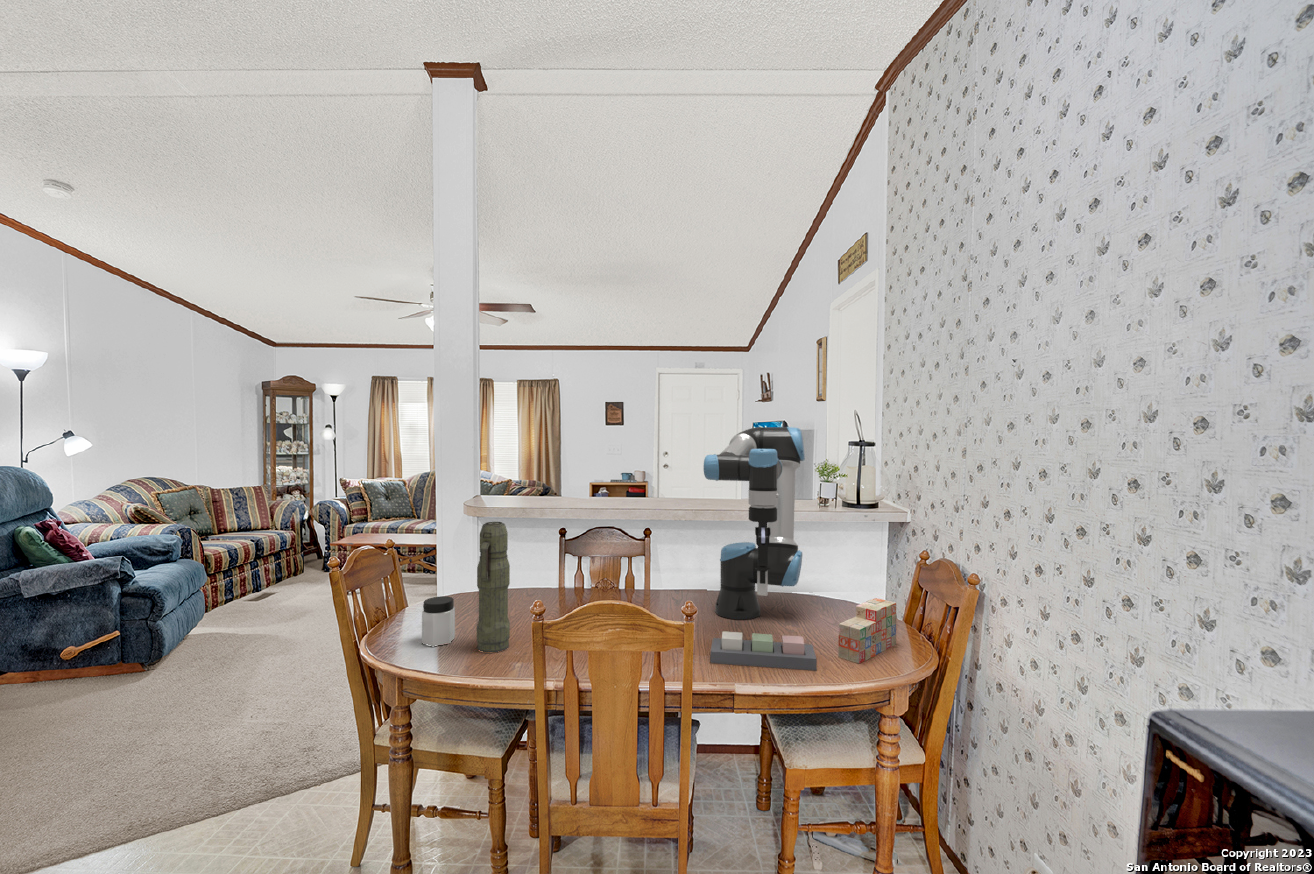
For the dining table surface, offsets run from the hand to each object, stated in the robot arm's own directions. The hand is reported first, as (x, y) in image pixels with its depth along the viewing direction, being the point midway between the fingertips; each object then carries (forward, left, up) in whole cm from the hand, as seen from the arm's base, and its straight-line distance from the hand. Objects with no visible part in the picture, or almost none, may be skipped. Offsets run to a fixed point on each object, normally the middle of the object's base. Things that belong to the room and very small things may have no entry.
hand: (762, 594), depth 148 cm
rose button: (+6, +5, -16) cm, 18 cm away
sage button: (0, 0, -16) cm, 16 cm away
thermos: (-58, -47, -18) cm, 77 cm away
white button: (-7, -4, -16) cm, 18 cm away
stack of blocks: (+17, +27, -18) cm, 36 cm away
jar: (-73, -56, -18) cm, 94 cm away
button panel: (0, 0, -17) cm, 17 cm away
